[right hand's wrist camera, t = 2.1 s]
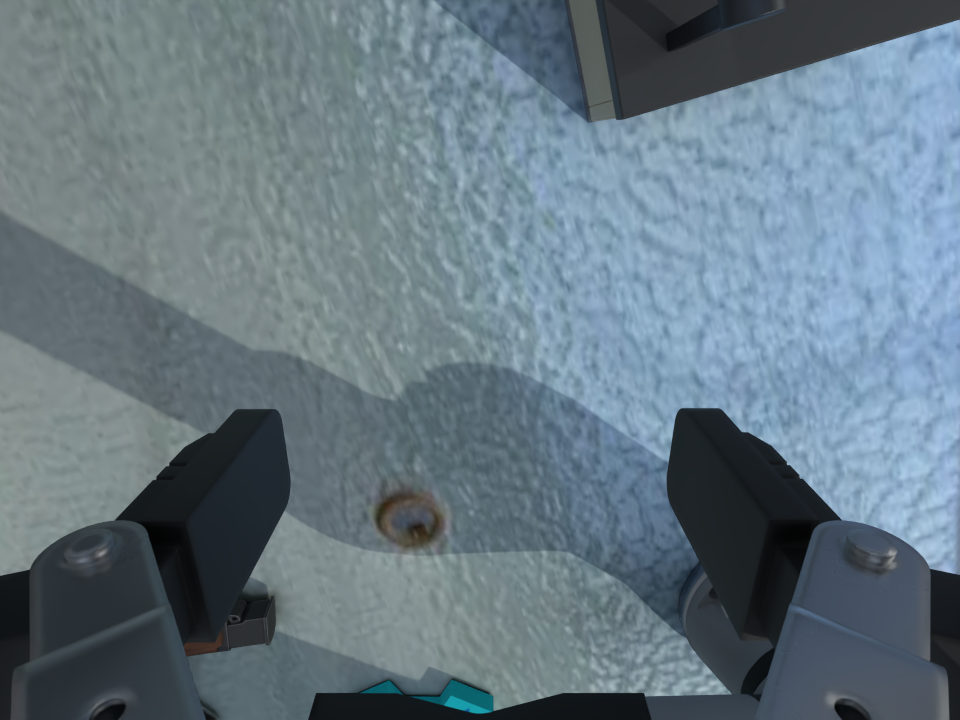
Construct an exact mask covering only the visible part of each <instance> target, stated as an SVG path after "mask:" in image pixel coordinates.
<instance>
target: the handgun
mask: <svg viewBox="0 0 960 720" xmlns="http://www.w3.org/2000/svg"><path fill="white" fill-rule="evenodd" d="M275 625H276V617H275V600H274V596H271V599H268V600H261V601H254V602H252V603H251V604H249V605H246V602H245V601H244V600H237V602H236V603H235V605H234V607H233V609H232V611H231V613H230V615H229V617H228V619H227V621H226V622H225V624H224V626H223V628H222V630H221V632H220V634H219V636H218V638H217V640H216V641H215V643H185V645H184V650H185V654H186V656H193V655H199V654H206V653H213V652H222V651H230V650H231V648H235V647H243V646H249V645H256V644H263V643H266V645H269V644H270V643H271V641H272V638H273V635H274V631H275ZM203 712H204V715H205V719H206V720H217V719H216V717H215V716H214V715H212V714H211V713H209V712H207V711H205V710H204V709H203Z"/></svg>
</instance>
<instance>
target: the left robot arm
mask: <svg viewBox="0 0 960 720" xmlns="http://www.w3.org/2000/svg"><path fill="white" fill-rule="evenodd" d="M679 616H680V621H681V624H682V626H683V629H684V631H685V633H686V636H687V638H688V641H689V643H690V645H691V646H692V648H693V649H694V651H695V652H696V654H697V655H698V656H699V658H700V659H701V660H702V661H703V662H704V663H705V664H706V665H707V667H708V668H709V669H710V670H711V671H712V672H713V673H714V674H715V676H716V677H717V678H718V679H719V680H720V681H721V682H722V683H723V684H724V686H725V687H726V688H727V689H728V690H729V691H730V692H731V693H732V695H691V696H649V697H645V699H646V702H647V705H648V709H649V712H650V716H651V719H652V720H754V719H755V715H756V712H757V709H758V706H759V702H760V699H761V696H762V693H763V689H764V686H765V683H766V680H767V676H768V673H769V670H770V667H771V663H772V660H773V657H774V654H775V649H774V648H773V646H772V644H771V642H770V641H741V640H740V638H739V636H738V634H737V632H736V630H735V628H734V626H733V625H732V623H731V621H730V619H729V617H728V615H727V613H726V611H725V609H724V607H723V605H722V603H721V601H720V600H719V598H718V596H717V594H716V592H715V590H714V588H713V586H712V584H711V582H710V580H709V578H708V576H707V575H706V573H705V571H704V569H703V567H702V565H701V563H700V564H699V565H698V566H697V567H696V568H695V569H694V571H693V572H692V573H691V575H690V576H689V578H688V579H687V581H686V583H685V585H684V587H683V590H682V592H681V596H680V601H679Z"/></svg>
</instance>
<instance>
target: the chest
mask: <svg viewBox="0 0 960 720" xmlns="http://www.w3.org/2000/svg"><path fill="white" fill-rule="evenodd" d="M565 4H566V9H567V14H568V20H569V25H570V30H571V35H572V41H573V46H574V51H575V56H576V62H577V67H578V72H579V77H580V83H581V88H582V93H583V98H584V104H585V109H586V114H587V119H588V123H589V122H594V121H599V120H606V119H613V118H616V116H615V110H614V105H613V99H612V93H611V87H610V81H609V76H608V70H607V64H606V58H605V53H604V47H603V41H602V35H601V29H600V24H599V18H598V12H597V6H596V1H595V0H565Z"/></svg>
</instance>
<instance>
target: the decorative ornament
mask: <svg viewBox="0 0 960 720" xmlns="http://www.w3.org/2000/svg"><path fill="white" fill-rule="evenodd" d="M361 693H398V694H402V693H401V692H400V691H399V690H398V689H397V688H396V687H395V686H394V685H393V683H392V682H391V681H390V680H389V681H387V682H384V683H382V684H380V685H377V686H375V687H373V688H370V689H368V690H366V691H363V692H361ZM402 695H403V694H402ZM414 698H417V699H421V700H425V701H429V702H433V703H437V704H440V705H444V706H448V707H452V708H456V709H460V710H464V711H467V712H472V713H488V712H493V696H491V695H489V694H486V693H484V692H481V691H479V690H476V689H474V688H471V687H469V686H466V685H464V684H461V683H459V682H456V681H454V680H451V681H450V683H449V684H448V686H447V687H446V689H445V690H444V691H443V693H442V694H441V696H440V697H414Z"/></svg>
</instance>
